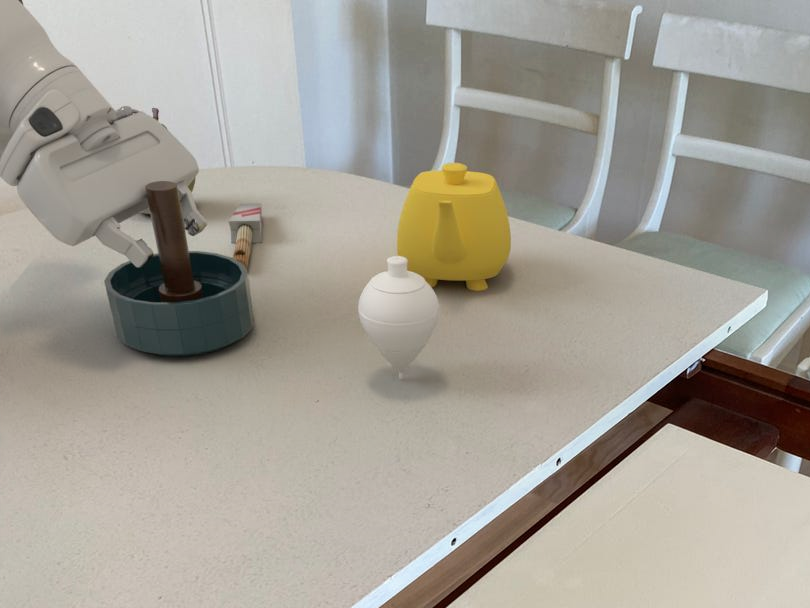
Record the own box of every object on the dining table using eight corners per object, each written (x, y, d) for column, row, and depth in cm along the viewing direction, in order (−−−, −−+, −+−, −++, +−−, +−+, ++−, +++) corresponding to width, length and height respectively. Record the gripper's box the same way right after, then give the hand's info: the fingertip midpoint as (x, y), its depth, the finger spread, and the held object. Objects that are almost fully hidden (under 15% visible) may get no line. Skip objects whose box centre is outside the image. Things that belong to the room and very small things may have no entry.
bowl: (104, 362, 98) (89, 304, 94) (134, 304, 109) (122, 250, 105) (245, 361, 99) (236, 304, 95) (261, 304, 110) (254, 251, 106)
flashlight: (162, 333, 102) (133, 192, 93) (169, 315, 105) (142, 178, 96) (204, 332, 102) (180, 193, 93) (211, 315, 105) (187, 178, 96)
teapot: (386, 309, 110) (380, 193, 101) (408, 244, 124) (405, 139, 116) (504, 315, 109) (509, 199, 101) (512, 249, 124) (517, 144, 116)
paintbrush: (264, 191, 129) (253, 254, 115) (267, 212, 131) (256, 277, 117) (234, 191, 129) (220, 255, 114) (237, 213, 131) (223, 277, 116)
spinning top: (453, 387, 96) (453, 265, 88) (382, 404, 93) (376, 280, 85) (417, 355, 101) (415, 238, 93) (350, 371, 98) (341, 251, 90)
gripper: (121, 123, 103) (215, 232, 107) (-17, 177, 89) (98, 300, 93) (148, 80, 99) (245, 195, 103) (8, 130, 84) (127, 260, 89)
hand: (174, 245), depth 98 cm, fingers open, 8 cm apart
